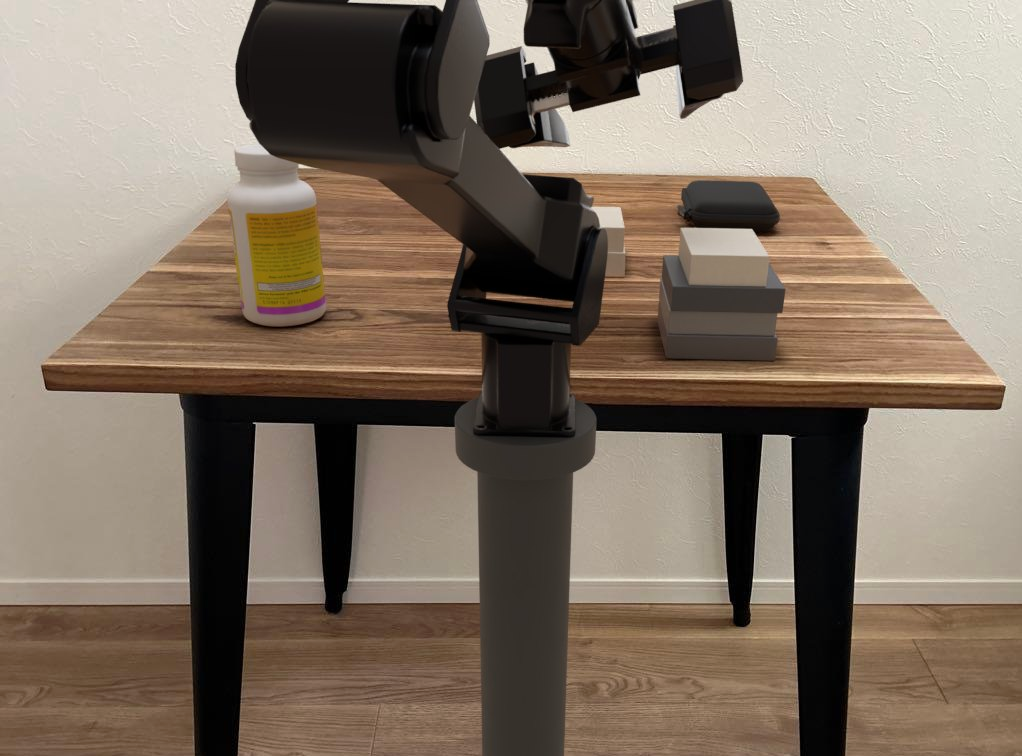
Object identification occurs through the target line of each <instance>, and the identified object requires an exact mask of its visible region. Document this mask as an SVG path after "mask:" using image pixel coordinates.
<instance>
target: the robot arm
mask: <svg viewBox="0 0 1022 756" xmlns="http://www.w3.org/2000/svg"><path fill="white" fill-rule="evenodd" d="M524 1H525V4H526V5H527V7H526V11H525V17H524V23H523V44H524V46H525V47H527V48H528V47H529V48H530V47H531V48H546V49H547V51H548V53H549V56H550V57H551V60H552V62H553V65H554V70H550V71H546V72H543V73H538V69H537V67H536V65H535V62H534V61H533V62H529V63H526V62H527V55H526V52H525V50H524V48H523V46H522V45H520V46H517V47H513V48H510V49H505V50H501V51H498V52H495V53H491V54H488V52H489V48H490V43H491V42H490V34H489V30H488V28H487V25H486V22H485V20H484V16H483V13H482V11H481V8H480V4H479V1H478V0H445V2H444V5H443V9H441V8H439V7H438V6H437V5H436V4H407V3H381V2H379V3H377V2H351V1H350V0H255V1H254V3H253V6H252V8H251V12H250V14H249V18H248V21H247V24H246V27H245V29H244V32H243V35H242V37H241V41H240V43H239V46H238V48H237V49H238V50H237V55H236V60H235V65H234V66H235V67H234V68H235V69H234V71H235V72H234V73H235V74H234V75H235V87H236V88H235V89H236V93H237V97H238V102H239V105H240V107H241V109H242V110H243V111H242V112H243V113H244V115H245V117H246V119H247V120H248V121H249V123H248V125H249V129H250V131H251V132H252V135H253V136H254V138H255V140H256V141H257V142H258V144H260V145H261V146H262V147H263V148H264V149H265V150H266V151H267V152H268V153H269V154H270V155H272V156H275V157H277V158H280V159H284V160H287V161H291V162H294V163H298V164H299V165H302V166H305V167H308V168H312V169H317V170H323V171H328V172H329V171H330V172H334V173H339V174H340V173H341V174H345V175H352V176H358V177H363V178H368V179H372V180H376V181H377V182H379V183H380V184H382V185H383V186H385V187H386V188H387V189H389V190H390V191H391V192H392V193H394V194H395V195H396V196H398V197H399V198H400V199H402V200H403V201H405V202H406V203H407V204H408V205H410V206H411V207H412V208H413V209H415V210H417V211H418V212H419V213H420V214H422V215H423V216H425V217H426V218H427V219H428V220H429V221H431V222H433V224H435V225H436V226H438V227H439V228H440V229H442V230H443V231H445V233H446V234H449V235H450V236H451V237H453V238H454V239H455V240H457V241H458V242H459V243H461V244H462V247H461V250H460V255H459V260H458V263H457V267H456V271H455V274H454V277H453V280H452V283H451V284H452V285H451V289H450V292H449V296H448V299H447V304H446V305H447V306H446V307H447V312H448V313H447V315H448V316H447V317H448V320H449V324H450V328H451V329H450V330H451V331H452V332H457V333H458V332H459V333H461V332H469V333H478V334H480V335H481V337H480V339H481V344H480V345H481V392H480V393H479V394H478V397H479V398H478V397H477V398H478V404H477V409H476V414H475V420H474V425H473V433H474V434H475V435H477V436H511V437H559V438H571V437H574V436H575V432H576V424H575V399H576V396H575V394H574V393H571V363H572V362H571V361H572V346H577V347H581V346H582V345H583V344H584V343H585V342H586V340H587V339H588V338H589V337H590V335H591V334H592V333H593V332H594V331H595V330H596V329H597V328H598V327H599V325H600V319H601V312H602V304H603V295H604V287H605V279H606V277H605V272H606V264H607V255H608V238H607V232H606V230H605V229H604V228H600V223H599V218H598V216H597V214H596V212H595V211H594V210H593V209H592V207H593V204H594V200H595V198H594V197H595V196H593V195H592V196H591V195H587V193H586V191H585V188H584V186H583V183H581V182H580V181H578V180H577V179H576V178H575V177H566V176H565V177H564V176H554V175H553V176H552V175H539V174H527V173H525V174H524V173H522V172H521V171H520V170H519V169H518V168H517V167H516V166H515V165H514V163H513V162H512V161H511V160H510V159H509V158H508V157H507V156H506V154H504V153H503V151H502V150H501V149H504V148H510V149H518V148H530V147H531V148H532V147H536V148H537V147H547V148H548V147H551V148H554V147H555V148H567V147H570V146H571V142H570V135H569V131H568V129H567V126H566V124H565V122H564V120H563V118H562V117H561V115H560V114H559V112H558V110H557V109H560V108H563V107H565V108H566V107H570V110H571V111H572V113H575V112H580V111H584V110H587V109H592V108H596V107H600V106H603V105H608V104H612V103H615V102H619V101H624V100H627V99H632V98H636V97H640V96H641V89H640V83H639V79H640V77H641V75H645V74H648V73H653V72H656V71H660V70H665V69H668V68H672V67H675V94H676V95H675V96H676V102H677V108H678V109H677V110H678V116H679V118H680V120H684V119H687V118H688V117H689V116H690V115H692V114H693V113H694V112H696V111H697V110H698V109H700V108H702V107H703V106H705V105H706V104H708V103H710V102H712V101H714V100H715V101H716V100H718V99H721V98H722V97H723V96H724V95H726V94H729V93H730V94H731V93H733V92H737V90H739V88H740V87H741V86H742V84H743V83H744V75H743V68H742V61H741V60H742V59H741V55H740V54H741V53H740V47H739V40H738V34H737V28H736V22H735V21H736V20H735V15H734V8H733V2H732V0H689V1H686V2H681V3H678V4H674V5H672V6H673V8H672V9H673V11H672V12H673V17H674V23H675V24H674V25H672V27H670V28H666V29H662V30H658V31H655V32H651V33H647V34H643V35H640V36H637V33H636V29H638V28H639V24H638V16H637V11H636V7H635V4H634V0H524ZM473 105H474V111H475V119H476V121H475V120H474V118H472V117H471V116H470V115H471V112H472V108H473ZM487 293H488V294H495V295H496V294H497V295H506V296H515V297H523V298H533V299H541V300H542V299H544V300H550V301H551V300H552V301H560V302H569V303H572V307H567V306H556V305H548V304H547V305H546V304H540V303H539V304H538V303H530V302H520V301H510V300H502V299H492V298H487Z"/></svg>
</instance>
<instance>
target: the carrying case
mask: <svg viewBox="0 0 1022 756" xmlns="http://www.w3.org/2000/svg"><path fill="white" fill-rule="evenodd" d="M680 199H681V202H682V205H681V204H678V205H677V208H676V213H677V216H679V217H681V218H683V219H684V220H686V221H687V222H692V224H693V225H694V228H726V229H752V230H753V231H754V233H767V232H770V231H772V230H773V229H774V227H775V226H776V225H778V224H779V222H780V220H781V215H780V212H779V210H778V208H777V207H776V205H775V204H774V202H773V201H772V199H771V197H770V195H769V194H768V192H767V190H765V188H764V186H763V185H762V184H760V183H759V182H756V181H745V180H743V181H742V180H740V181H739V180H704V179H703V180H701V179H699V180H693V181H691V182H689V183H688V185H687V187H682V189H681V194H680Z"/></svg>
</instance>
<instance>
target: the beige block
mask: <svg viewBox="0 0 1022 756" xmlns="http://www.w3.org/2000/svg"><path fill="white" fill-rule="evenodd" d="M592 209H593V210H594V211H595V212H596V214H597V216H598V218H599V223H600V228H604V229H605V230H606V232H607V238H608V255H607V264H606V272H605V278H624V277H625V276H626V256H627V254H626V253H627V251H626V248H625V235H626V234H625V233H626V227H625V223H624V217H623V213H622V208H621V206H592Z"/></svg>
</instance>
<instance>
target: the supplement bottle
mask: <svg viewBox="0 0 1022 756" xmlns="http://www.w3.org/2000/svg"><path fill="white" fill-rule="evenodd" d="M233 153H234V161H235V162H234V164H235V167H237V171H238V172H239V181H238V182H236V183H235V184H234V185H232V186H231V187H230V189H229V190H228V192H227V196H226V200H227V201H226V202H227V210H228V217H229V224H230V232H231V239H232V247H233V253H234V261H235V270H236V276H237V285H238V292H239V300H240V306H241V312H242V315H243V317H244V318H245V319H246V320H248V321H249V322H251V323H253V324H256V325H259V326H266V327H278V328H279V327H280V328H281V327H294V326H300V325H305V324H309V323H311V322H314V321H317V320H318V319H320V318H321V317H323V315H324V314H325V313H326V311H327V310H326V309H327V298H326V288H325V279H324V278H325V277H324V268H323V267H324V266H323V260H322V259H323V258H322V248H321V236H320V226H319V217H318V205H317V197H316V193H315V191H314V188H313V187H312V186H311V185H310V184H308V183H307V182H305V181H303V180H302V179H300V178H299V173H298V170H299V167H300V164H298V163H294V162H291V161H287V160H284V159H280V158H277V157H275V156H272V155H270V154H269V153H268V152H267V151H266V150H265V149H264V148H263V147H262V146H261V145H260V144H259V143H253V144H246V145H241V146H238V147H236V148H234V151H233Z"/></svg>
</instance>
